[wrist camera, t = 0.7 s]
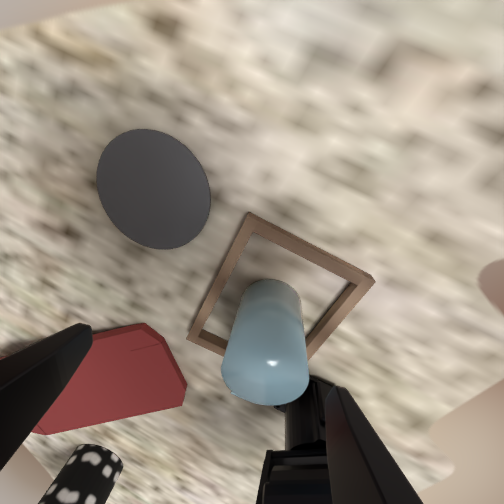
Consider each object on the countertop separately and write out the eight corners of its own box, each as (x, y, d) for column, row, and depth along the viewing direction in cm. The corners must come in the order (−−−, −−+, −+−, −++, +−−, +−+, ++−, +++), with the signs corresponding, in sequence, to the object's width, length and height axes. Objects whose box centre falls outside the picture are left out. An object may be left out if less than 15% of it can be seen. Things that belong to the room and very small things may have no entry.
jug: (272, 352, 26) (267, 431, 19) (222, 328, 25) (197, 399, 18) (313, 297, 23) (327, 367, 15) (257, 268, 22) (243, 327, 15)
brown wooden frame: (286, 376, 27) (286, 385, 26) (190, 331, 26) (186, 338, 25) (370, 275, 21) (375, 281, 20) (249, 211, 20) (247, 215, 19)
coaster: (187, 265, 23) (186, 266, 23) (90, 217, 22) (87, 218, 22) (229, 167, 19) (228, 167, 19) (111, 105, 18) (109, 104, 18)
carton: (166, 301, 30) (-9, 345, 32) (152, 326, 25) (-52, 376, 27) (199, 371, 34) (42, 407, 36) (192, 403, 30) (12, 443, 31)
